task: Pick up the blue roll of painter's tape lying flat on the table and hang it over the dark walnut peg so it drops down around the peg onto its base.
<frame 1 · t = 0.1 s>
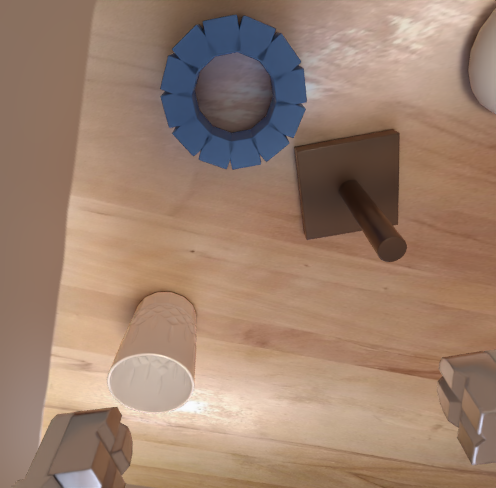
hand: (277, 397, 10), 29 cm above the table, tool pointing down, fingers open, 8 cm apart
post: (345, 184, 38), on the table
white cup: (167, 313, 45), on the table
tape: (234, 93, 33), on the table
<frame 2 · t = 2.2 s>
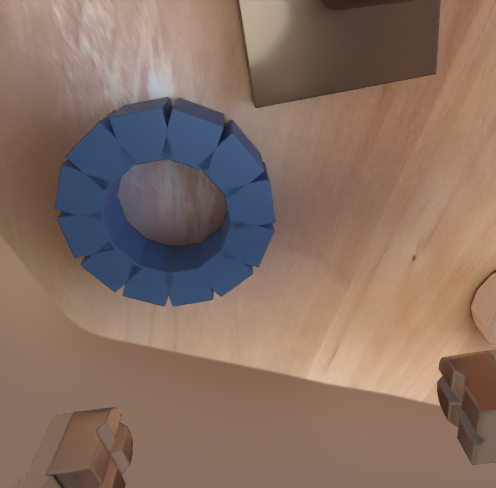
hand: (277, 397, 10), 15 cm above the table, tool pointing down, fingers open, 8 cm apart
tape: (174, 198, 23), on the table
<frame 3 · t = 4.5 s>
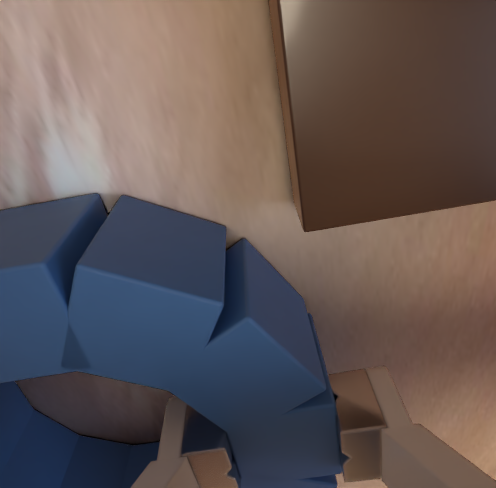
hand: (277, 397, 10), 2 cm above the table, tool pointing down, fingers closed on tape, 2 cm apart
tape: (126, 374, 12), on the table, touching gripper
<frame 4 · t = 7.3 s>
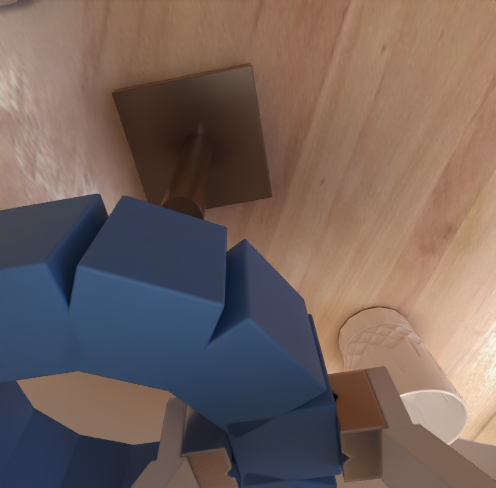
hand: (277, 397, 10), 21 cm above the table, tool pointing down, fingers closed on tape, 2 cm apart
post: (199, 143, 28), on the table
white cup: (371, 332, 38), on the table
tape: (126, 373, 12), point 20 cm above the table, touching gripper
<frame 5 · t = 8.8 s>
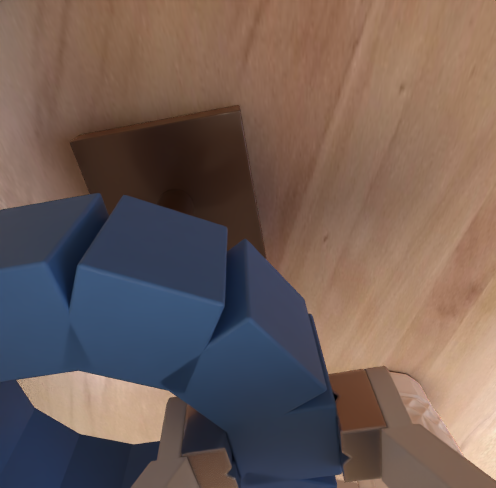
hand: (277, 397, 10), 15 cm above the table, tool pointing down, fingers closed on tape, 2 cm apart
post: (179, 195, 24), on the table
white cup: (380, 397, 33), on the table
tape: (126, 373, 12), point 14 cm above the table, touching gripper
when the fingers open (12 cm above the table, at t = 10.2 s): tape drops 8 cm, resting on post.
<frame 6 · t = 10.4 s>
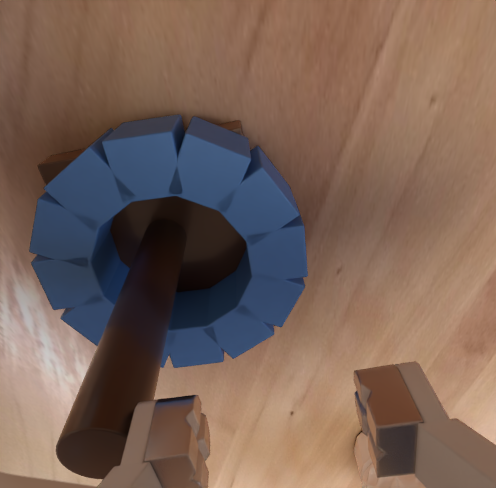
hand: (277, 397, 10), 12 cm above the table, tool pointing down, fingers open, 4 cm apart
post: (170, 223, 20), on the table
white cup: (396, 438, 30), on the table
tape: (180, 236, 19), point 1 cm above the table, touching post
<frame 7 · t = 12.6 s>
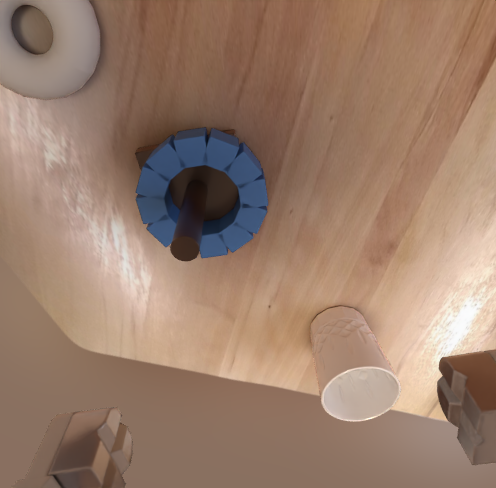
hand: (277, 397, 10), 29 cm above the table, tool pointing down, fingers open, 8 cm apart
post: (198, 184, 38), on the table
donut: (42, 30, 31), on the table
white cup: (336, 326, 48), on the table
tape: (204, 189, 37), point 1 cm above the table, touching post
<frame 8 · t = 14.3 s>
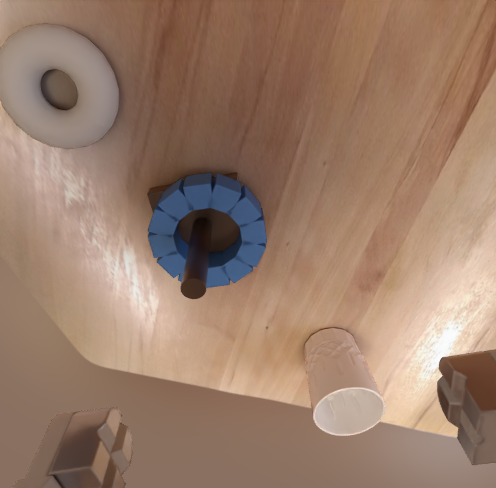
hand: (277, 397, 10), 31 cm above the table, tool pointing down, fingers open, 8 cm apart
post: (203, 219, 42), on the table
donut: (67, 87, 35), on the table
white cup: (329, 345, 52), on the table
tape: (209, 225, 40), point 1 cm above the table, touching post
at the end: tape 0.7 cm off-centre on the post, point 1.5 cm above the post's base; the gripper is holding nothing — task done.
